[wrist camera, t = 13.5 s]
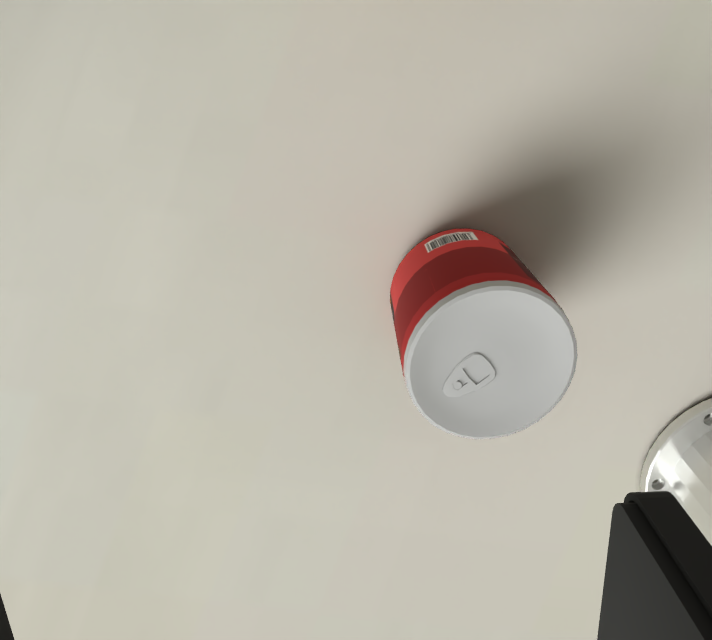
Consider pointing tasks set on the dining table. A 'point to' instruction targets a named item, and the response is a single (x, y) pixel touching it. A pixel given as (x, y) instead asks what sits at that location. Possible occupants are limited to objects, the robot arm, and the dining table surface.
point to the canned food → (479, 336)
